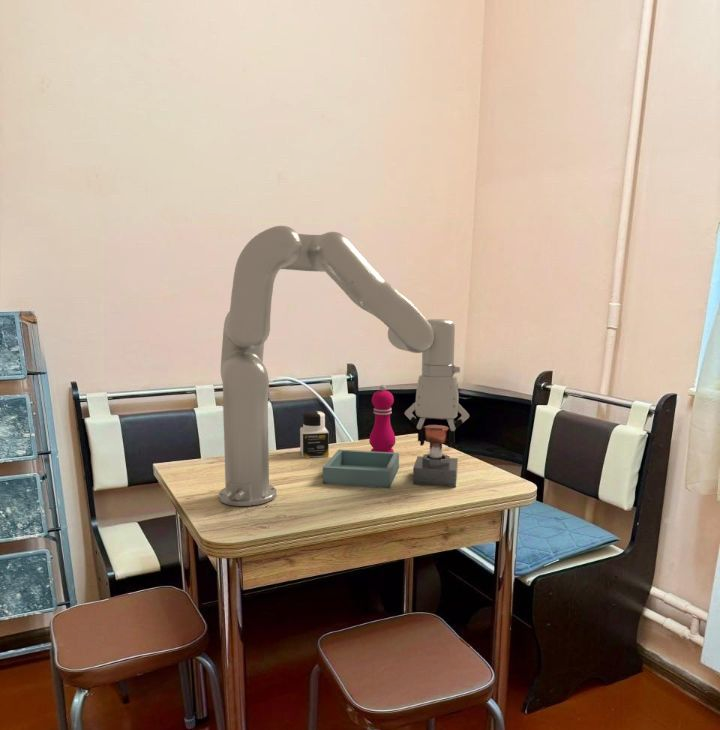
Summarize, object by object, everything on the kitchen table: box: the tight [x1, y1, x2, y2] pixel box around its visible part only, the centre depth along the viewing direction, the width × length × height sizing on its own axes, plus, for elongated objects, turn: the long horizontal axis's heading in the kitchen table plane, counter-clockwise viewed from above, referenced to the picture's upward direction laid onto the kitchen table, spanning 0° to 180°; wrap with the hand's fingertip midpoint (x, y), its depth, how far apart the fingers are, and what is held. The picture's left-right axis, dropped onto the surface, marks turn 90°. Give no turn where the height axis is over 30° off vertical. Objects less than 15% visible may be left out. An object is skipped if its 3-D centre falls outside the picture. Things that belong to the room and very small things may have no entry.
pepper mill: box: [369, 384, 396, 453], centre depth 160 cm, size 7×7×20 cm
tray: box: [322, 448, 400, 489], centre depth 144 cm, size 16×16×4 cm
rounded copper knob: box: [424, 424, 450, 460], centre depth 141 cm, size 6×6×11 cm
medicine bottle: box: [299, 410, 330, 459], centre depth 162 cm, size 7×7×12 cm
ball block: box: [412, 453, 459, 488], centre depth 141 cm, size 10×10×6 cm
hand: (436, 444), depth 140 cm, fingers closed on rounded copper knob, 6 cm apart
